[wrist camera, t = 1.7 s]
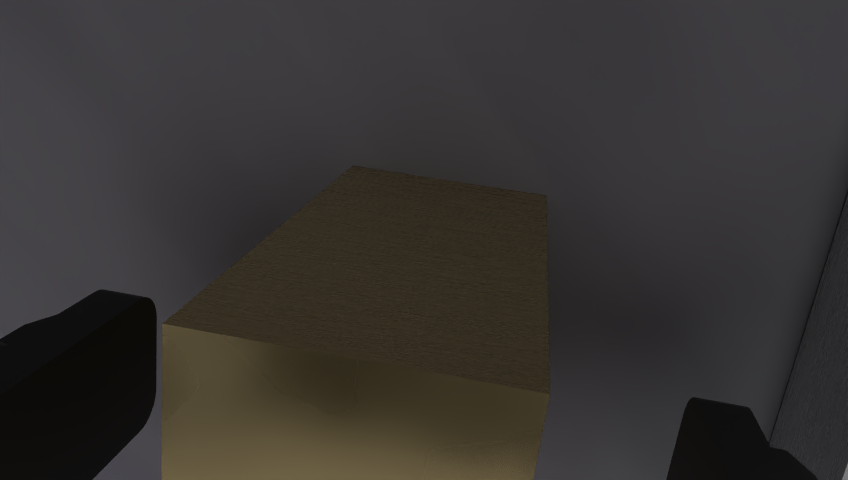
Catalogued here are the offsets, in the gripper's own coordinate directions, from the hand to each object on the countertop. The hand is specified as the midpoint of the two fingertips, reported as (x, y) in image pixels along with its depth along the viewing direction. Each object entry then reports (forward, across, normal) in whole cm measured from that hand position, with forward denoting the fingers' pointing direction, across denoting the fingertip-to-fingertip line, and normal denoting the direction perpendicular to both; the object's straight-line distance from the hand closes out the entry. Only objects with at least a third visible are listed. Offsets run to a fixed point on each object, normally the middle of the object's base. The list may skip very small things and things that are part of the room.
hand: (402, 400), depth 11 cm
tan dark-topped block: (+5, 0, 0) cm, 5 cm away
